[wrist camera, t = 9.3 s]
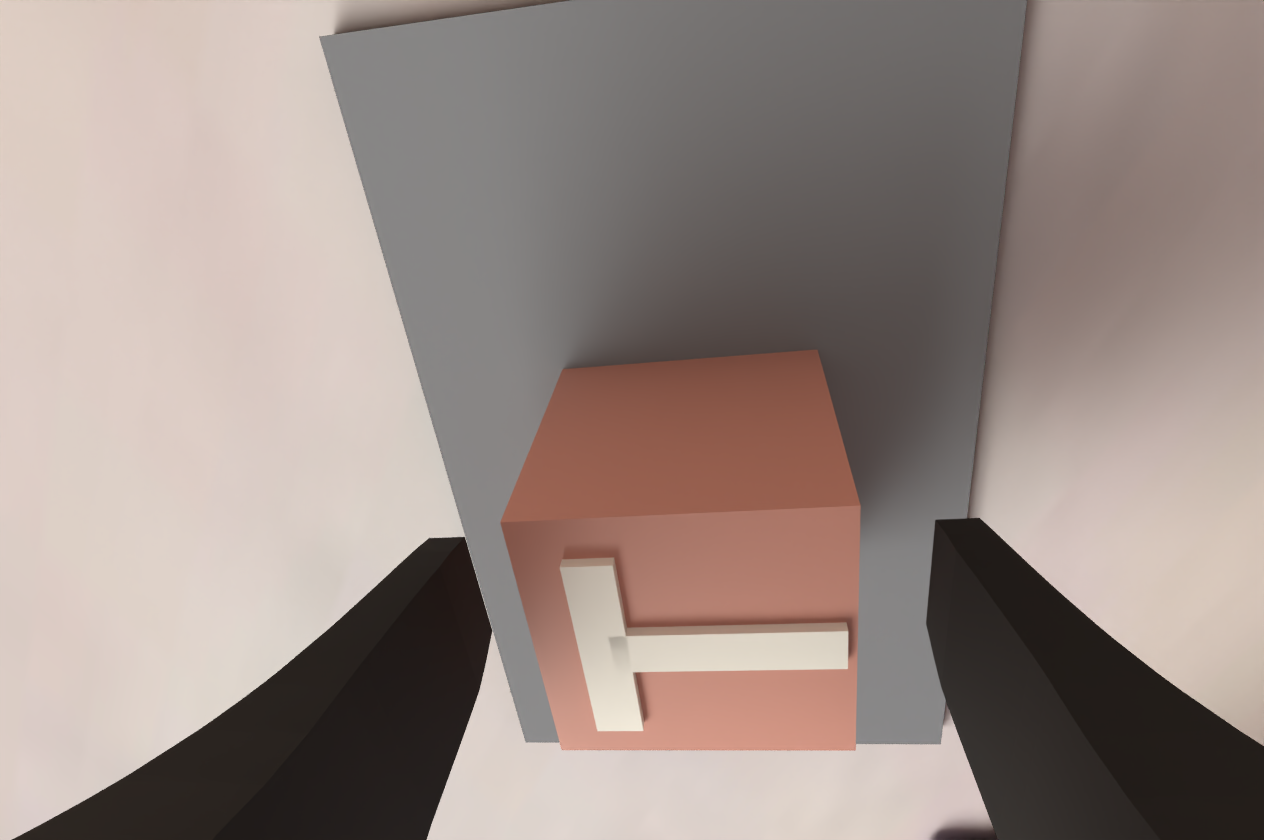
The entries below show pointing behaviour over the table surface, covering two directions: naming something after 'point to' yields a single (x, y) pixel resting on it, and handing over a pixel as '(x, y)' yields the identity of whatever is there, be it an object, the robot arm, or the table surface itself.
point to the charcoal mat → (701, 248)
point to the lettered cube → (692, 556)
